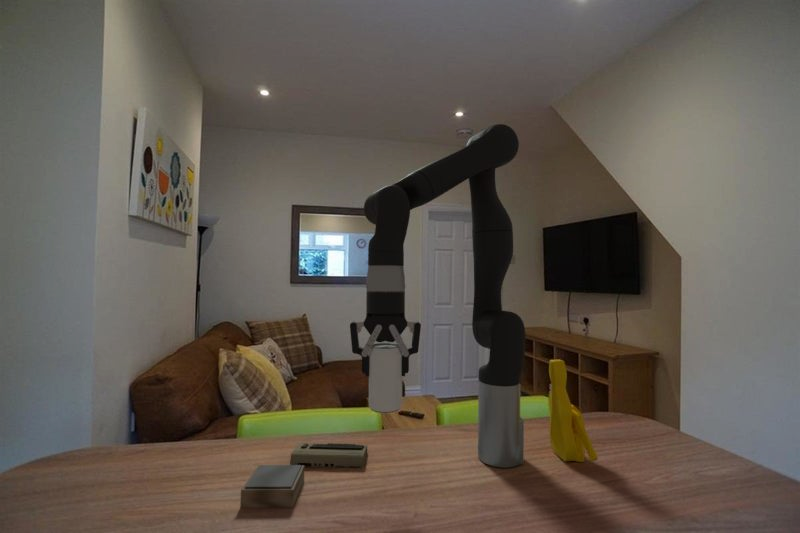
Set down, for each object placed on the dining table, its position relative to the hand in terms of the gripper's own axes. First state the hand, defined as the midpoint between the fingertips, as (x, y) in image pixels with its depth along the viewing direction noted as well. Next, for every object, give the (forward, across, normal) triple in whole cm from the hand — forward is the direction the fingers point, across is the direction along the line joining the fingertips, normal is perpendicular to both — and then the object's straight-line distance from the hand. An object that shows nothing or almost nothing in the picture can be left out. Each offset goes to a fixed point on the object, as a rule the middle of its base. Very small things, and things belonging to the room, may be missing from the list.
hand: (385, 375), depth 74 cm
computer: (+22, +12, -12) cm, 28 cm away
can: (+6, 0, 0) cm, 6 cm away
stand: (+21, +20, +2) cm, 29 cm away
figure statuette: (+22, -42, -13) cm, 49 cm away
